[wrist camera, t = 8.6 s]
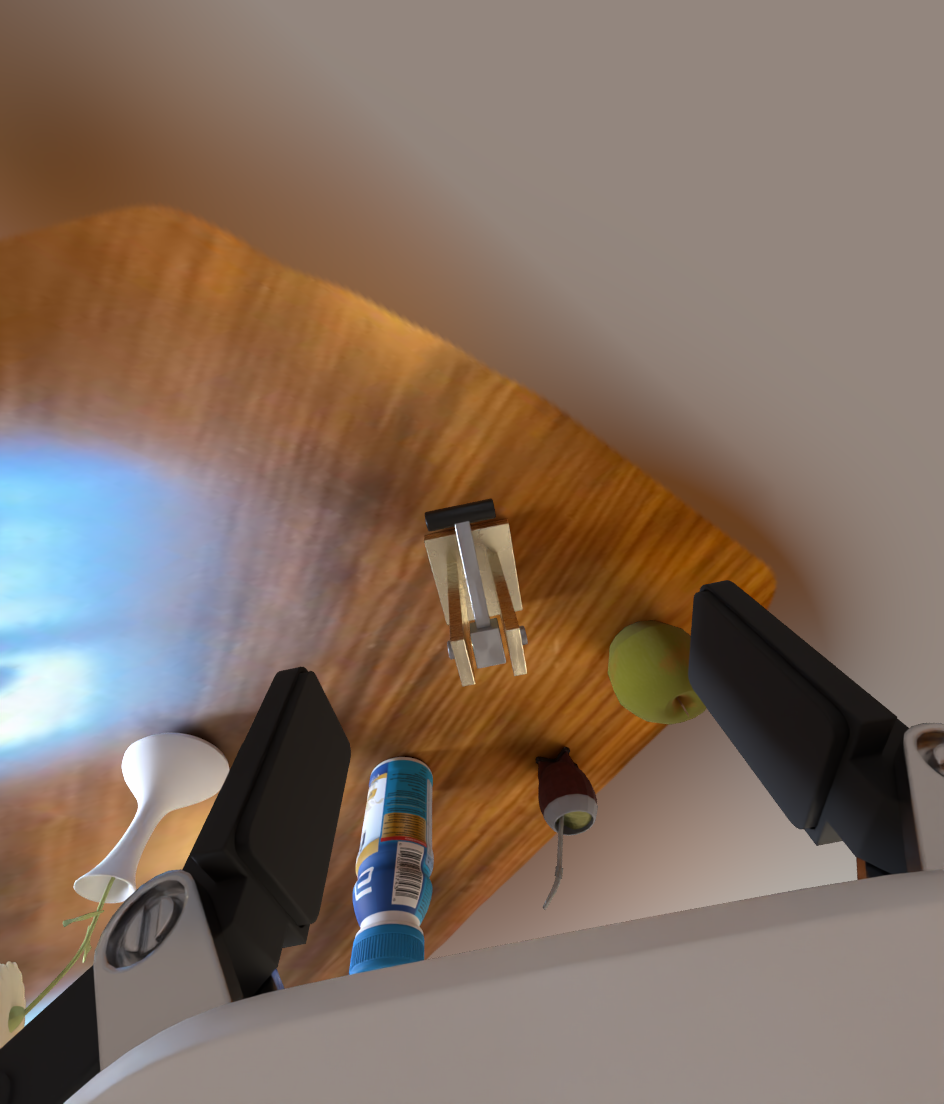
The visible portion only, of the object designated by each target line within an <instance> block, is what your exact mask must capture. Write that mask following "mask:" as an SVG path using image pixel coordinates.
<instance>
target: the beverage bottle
mask: <svg viewBox="0 0 944 1104" xmlns="http://www.w3.org/2000/svg"><path fill="white" fill-rule="evenodd" d="M432 786H433V776H432V772H431V770H430V768H429V767H428V766H427V765H426V764H425V763H423V762H422V761H420V760H417V759H414V758H410V757H396V758H391V759H388V760H385V761H383V762H382V763H380V764H379V765H377V766H376V767H375V769H374V770H373V772H372V774H371V777H370V783H369V791H368V798H367V805H366V811H365V818H364V824H363V830H362V837H361V843H360V850H359V853H358V856H357V860H356V875H357V878H358V881H357V883H356V884H355V886H354V889H353V905H354V911H355V914H356V918H357V921H358V923H359V926H360V928H361V929H360V930H359V931H358V933H357V934H356V937H355V940H354V943H353V950H352V956H351V963H350V970H349V975H351V974H356V973H361V972H366V971H372V970H377V969H382V968H387V967H392V966H397V965H402V964H407V963H413V962H418V961H423V960H424V936H423V931H422V929H421V928H420V927H419V926H420V924H421V922H422V920H423V918H424V916H425V914H426V912H427V910H428V907H429V904H430V900H431V896H432V884H431V881H430V879H429V877H430V875H431V873H432V870H433V862H434V856H433V851H432Z"/></svg>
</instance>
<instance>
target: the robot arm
mask: <svg viewBox="0 0 944 1104" xmlns="http://www.w3.org/2000/svg"><path fill="white" fill-rule="evenodd" d="M688 678H689V682H690V684H691V686H692V688H693V690H694V691H695V693H696V694H697V695H698V697H699V698H700V699H701V701H702V702H703V704H704V705H705V706H706V708H707V709H708V710H709V712H710V713H711V714H712V716H713V717H714V718H715V720H716V721H717V723H718V724H719V725H720V727H721V728H722V729H723V731H724V732H725V733H726V735H727V736H728V737H729V739H730V740H731V742H732V743H733V744H734V746H735V747H736V748H737V750H738V751H739V753H740V754H741V755H742V756H743V758H744V759H745V761H746V762H747V763H748V765H749V766H750V767H751V769H752V770H753V772H754V773H755V774H756V776H757V777H758V778H759V780H760V781H761V782H762V784H763V785H764V787H765V788H766V789H767V790H768V792H769V793H770V795H771V796H772V797H773V799H774V800H775V802H776V803H777V804H778V806H779V807H780V808H781V810H782V811H783V812H784V814H785V815H786V816H787V818H788V819H789V820H790V822H791V823H792V824H793V825H794V826H795V827H797V828H798V829H804V830H805V831H806V832H807V833H808V835H809V836H810V838H811V839H812V840H813V841H814V843H815V844H816V845H817V846H818V845H823V844H829V843H833V842H839V841H843V842H844V843H845V844H846V845H847V846H848V848H849V849H850V850H851V851H852V853H853V854H854V855H855V856H856V858H857V878H858V880H855V881H848V882H842V883H836V884H830V885H824V886H818V887H812V888H805V889H800V890H794V891H788V892H783V893H777V894H772V895H767V896H761V897H756V898H750V899H745V900H739V901H734V902H729V903H723V904H718V905H712V906H707V907H702V908H696V909H690V910H685V911H680V912H674V913H669V914H664V915H658V916H653V917H648V918H642V919H637V920H631V921H626V922H621V923H616V924H610V925H606V926H600V927H595V928H589V929H584V930H579V931H573V932H568V933H563V934H557V935H553V936H547V937H542V938H537V939H531V940H526V941H521V942H516V943H510V944H505V945H500V946H495V947H490V948H484V949H479V950H474V951H469V952H464V953H459V954H454V955H448V956H444V957H438V958H433V959H428V960H423V961H418V962H413V963H407V964H402V965H397V966H392V967H387V968H382V969H377V970H372V971H366V972H361V973H356V974H351V975H347V976H342V977H338V978H333V979H328V980H324V981H319V982H315V983H310V984H305V985H301V986H296V987H292V988H287V989H284V986H283V984H282V981H281V979H280V976H279V974H278V971H277V969H276V968H277V967H278V963H279V959H280V955H281V951H282V948H285V947H291V946H296V945H301V944H306V940H307V936H308V931H309V926H310V924H312V923H314V922H315V921H316V920H317V917H318V915H319V911H320V906H321V901H322V896H323V892H324V887H325V882H326V877H327V872H328V867H329V862H330V857H331V852H332V847H333V842H334V837H335V832H336V827H337V822H338V817H339V812H340V807H341V802H342V797H343V792H344V788H345V783H346V778H347V773H348V768H349V763H350V757H351V748H350V743H349V741H348V739H347V737H346V735H345V733H344V731H343V729H342V727H341V725H340V723H339V721H338V719H337V717H336V715H335V713H334V711H333V709H332V707H331V705H330V703H329V701H328V699H327V697H326V695H325V693H324V691H323V689H322V687H321V685H320V683H319V681H318V679H317V677H316V675H315V673H314V672H313V671H309V672H308V671H307V669H306V668H304V667H298V668H293V669H288V670H283V671H279V672H278V673H277V674H276V675H275V677H274V679H273V681H272V683H271V686H270V688H269V690H268V692H267V694H266V696H265V698H264V700H263V702H262V705H261V707H260V709H259V711H258V713H257V715H256V717H255V719H254V721H253V724H252V726H251V728H250V730H249V732H248V734H247V736H246V738H245V740H244V742H243V744H242V746H241V748H240V750H239V752H238V754H237V756H236V758H235V760H234V762H233V765H232V767H231V769H230V771H229V773H228V775H227V777H226V779H225V781H224V783H223V786H222V788H221V790H220V792H219V794H218V796H217V798H216V800H215V802H214V804H213V807H212V809H211V811H210V813H209V815H208V817H207V819H206V821H205V823H204V825H203V828H202V830H201V832H200V834H199V836H198V838H197V840H196V842H195V844H194V847H193V849H192V851H191V853H190V855H189V857H188V859H187V861H186V863H185V865H184V868H183V870H171V871H167V872H165V873H162V874H160V875H158V876H155V877H154V878H152V879H151V880H149V881H148V882H146V883H145V884H143V885H142V886H140V887H139V888H138V889H137V890H136V891H135V892H134V893H133V894H132V895H131V896H129V897H128V898H127V899H126V900H125V901H124V903H123V904H122V905H121V906H120V907H119V909H118V910H117V911H116V912H115V913H114V915H113V916H112V918H111V919H110V921H109V922H108V924H107V926H106V927H105V929H104V931H103V932H102V934H101V937H100V939H99V942H98V944H97V947H96V949H95V956H94V964H93V966H92V967H90V968H89V969H88V970H87V971H86V972H85V973H84V974H83V975H82V976H80V977H79V978H78V979H77V980H76V981H75V982H74V983H73V984H72V985H70V986H69V987H68V988H67V989H66V990H65V991H64V992H63V993H62V994H61V995H59V996H58V997H57V998H56V999H55V1000H54V1001H53V1002H52V1003H51V1004H49V1005H48V1006H47V1007H46V1008H45V1009H44V1010H43V1011H42V1012H41V1013H39V1014H38V1015H37V1016H36V1017H35V1018H34V1019H33V1020H32V1021H31V1022H29V1023H28V1024H27V1025H26V1026H25V1027H24V1028H23V1029H22V1030H21V1031H19V1032H18V1033H17V1034H16V1035H15V1036H14V1037H13V1038H12V1039H11V1040H9V1041H8V1042H7V1043H6V1044H5V1045H4V1046H3V1047H2V1048H1V1049H0V1104H944V724H942V723H922V724H918V725H915V726H911V728H908V727H907V726H906V725H904V724H903V723H902V722H901V721H900V720H898V719H897V716H895V715H894V714H893V713H892V712H891V711H889V710H888V709H887V708H886V707H884V706H883V705H882V704H881V703H880V702H878V701H877V700H876V699H875V698H873V697H872V696H871V695H870V694H869V693H867V692H866V691H865V690H864V689H862V688H861V687H860V686H859V685H858V684H856V683H855V682H854V681H853V680H851V679H850V678H849V677H848V676H847V675H845V674H844V673H843V672H842V671H841V670H839V669H838V668H837V667H836V666H834V665H833V664H832V663H831V662H829V661H828V660H827V659H826V658H825V657H823V656H822V655H821V654H820V653H819V652H817V651H816V650H815V649H814V648H812V647H811V646H810V645H809V644H808V643H806V642H805V641H804V640H803V639H801V638H800V637H799V636H798V635H796V634H795V633H794V632H793V631H792V630H791V629H789V628H788V627H787V626H786V625H784V624H783V623H782V622H781V621H780V620H778V619H777V618H776V617H775V616H773V615H772V614H771V613H770V612H769V611H767V610H766V609H765V608H764V607H762V606H761V605H760V604H759V603H758V602H756V601H755V600H754V599H753V598H751V597H750V596H749V595H748V594H747V593H745V592H744V591H743V590H742V589H740V588H739V587H738V586H737V585H736V584H734V583H733V582H731V581H728V580H726V581H721V582H716V583H711V584H706V585H703V586H702V587H701V588H700V592H698V593H696V594H695V595H694V601H693V615H692V628H691V641H690V654H689V668H688Z"/></svg>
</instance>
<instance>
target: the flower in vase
mask: <svg viewBox="0 0 944 1104" xmlns="http://www.w3.org/2000/svg"><path fill="white" fill-rule="evenodd" d="M229 771H230V770H229V765H228V761H227V759H226V757H225V756H224V754H223V753H222V752H221V751H220V750H219V749H218V748H217V747H216V746H214V745H213V744H211V743H209V742H207V741H206V740H203V739H201V738H198V737H195V736H192V735H188V734H182V733H159V734H154V735H150V736H147V737H145V738H143V739H140V740H138V741H137V742H135V743H133V744H132V745H131V746H130V747H129V748H128V749H127V750H126V752H125V754H124V758H123V762H122V772H123V775H124V778H125V781H126V783H127V785H128V787H129V788H130V790H131V791H132V793H133V794H134V796H135V797H136V799H137V801H138V805H139V806H138V811H137V813H136V816H135V818H134V820H133V821H132V823H131V825H130V827H129V828H128V830H127V831H126V833H125V834H124V836H123V837H122V838H121V840H120V841H119V842H118V844H117V845H116V846H115V848H114V849H113V850H112V851H111V852H110V853H109V855H108V856H107V857H106V858H105V859H104V860H103V861H102V862H101V863H100V864H99V865H98V866H96V867H95V868H94V869H93V870H91V871H90V872H88V873H87V874H85V875H83V876H82V877H80V878H79V879H78V880H76V882H75V883H74V889H75V891H76V892H77V893H78V894H79V895H81V896H82V897H84V898H86V899H89V900H92V901H95V902H100V904H99V906H98V909H97V911H96V912H92V913H88V914H85V915H83V916H80V917H78V918H74V919H69V920H65V921H63V925H64V927H65V926H67V925H69V924H70V923H72V922H75V921H81V920H85V919H88V918H91V917H93V916H94V919H93V921H92V924H91V926H88V930H87V934H86V938H85V940H84V942H83V944H82V946H81V947H80V949H79V951H78V952H77V954H76V955H75V957H74V958H73V959H72V961H71V962H70V963H69V964H68V965H67V967H66V968H65V969H64V970H63V971H62V972H61V973H60V974H59V975H58V976H57V978H56V979H55V980H54V981H53V982H52V983H51V984H50V985H49V986H48V987H47V988H46V989H45V990H44V991H43V992H42V993H41V994H40V995H39V996H38V997H37V998H36V999H35V1000H34V1001H33V1002H32V1003H31V1004H30V1005H29V1006H28V1007H27V1008H26V1009H25V1007H26V1000H25V998H24V993H25V992H24V984H23V983H22V974H21V972H20V970H19V969H18V966H17V964H16V963H15V962H13V963H11V962H7V964H6V965H4V964H0V1049H1V1048H2V1047H3V1046H4V1045H5V1044H6V1043H7V1042H8V1041H9V1040H11V1039H12V1038H13V1037H14V1036H15V1035H16V1034H17V1033H18V1032H19V1031H21V1030H22V1029H23V1028H24V1024H25V1015H26V1014H27V1013H28V1012H29V1011H30V1010H31V1009H32V1008H33V1007H34V1006H35V1005H36V1004H37V1003H38V1002H39V1001H40V1000H41V999H42V998H43V997H44V996H45V995H46V994H47V993H48V992H49V991H50V990H51V989H52V988H53V987H54V986H55V985H56V984H57V983H58V982H59V980H60V979H61V978H62V977H63V976H64V975H65V974H66V973H67V972H68V970H69V969H70V968H71V967H72V966H73V964H74V963H75V962H76V961H77V959H78V958H79V956H80V955H81V953H82V952H83V950H84V957H83V963H84V962H85V959H86V956H87V953H88V952H89V951H90V949H91V945H90V936H91V934H92V932H93V930H94V927H95V925H96V922H97V920H98V917H99V915H100V913H102V912H104V910H102V907H103V905H104V903H119V902H123V901H125V900H126V899H127V898H128V897H129V896H131V895H132V894H133V893H134V892H135V891H136V884H135V875H136V870H137V865H138V863H139V860H140V857H141V854H142V852H143V850H144V848H145V845H146V843H147V841H148V840H149V838H150V836H151V834H152V832H153V830H154V829H155V827H156V826H157V824H158V823H159V821H160V820H161V819H162V818H163V816H165V815H166V814H167V813H168V812H170V811H172V810H175V809H179V808H182V807H186V806H189V805H193V804H196V803H199V802H201V801H203V800H205V799H208V798H210V797H212V796H213V795H215V794H216V793H217V792H218V791H219V790H220V789H221V788H222V786H223V783H224V781H225V779H226V777H227V775H228V773H229ZM101 910H102V911H101ZM84 948H85V949H84Z"/></svg>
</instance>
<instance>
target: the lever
mask: <svg viewBox="0 0 944 1104" xmlns="http://www.w3.org/2000/svg"><path fill="white" fill-rule="evenodd" d="M495 517H496V514H495V509H494V504H493V500H492V499H486V500H482V501H477V502H472V503H467V504H462V505H458V506H453V507H448V508H443V509H439V510H434V511H429V512H425V520H426V525H427V528H428V530H429V531H435V530H439V529H444V528H449V527H454V526H455V530H456V534H457V539H458V544H459V548H460V553H461V558H462V562H463V567H464V572H465V576H466V581H467V586H468V590H469V595H470V599H471V604H472V609H473V613H474V618H475V622H474V623H470V637H471V642H472V646H473V651H474V655H475V660H476V665H477V668H483V667H488V666H493V665H498V664H503V663H506V659H505V654H504V649H503V645H502V640H501V635H500V630H499V626H498V621H497V618H494V619H490V618H489V613H488V608H487V603H486V599H485V594H484V589H483V584H482V579H481V575H480V570H479V565H478V560H477V555H476V551H475V546H474V541H473V536H472V531H471V527H470V523H473V522H478V521H483V520H487V519H492V518H495Z"/></svg>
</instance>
